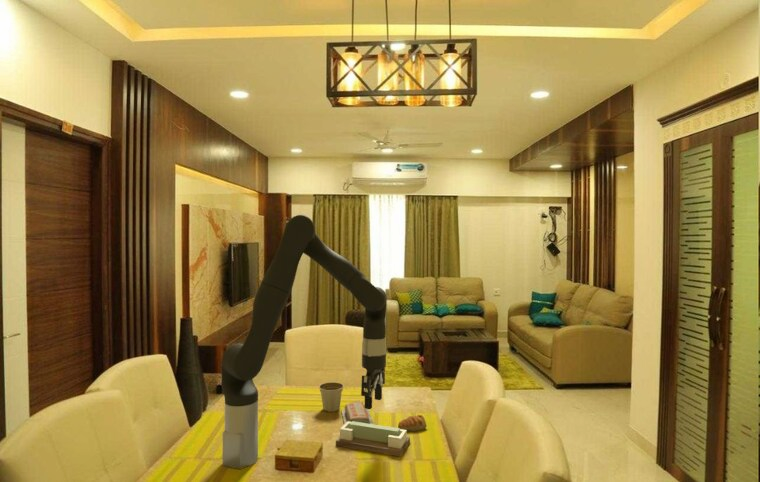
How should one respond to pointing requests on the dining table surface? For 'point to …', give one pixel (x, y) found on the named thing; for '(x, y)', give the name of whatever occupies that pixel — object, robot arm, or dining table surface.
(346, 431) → the cap far
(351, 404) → the packaged product
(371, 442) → the board
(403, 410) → the dining table surface
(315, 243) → the robot arm
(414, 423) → the pastry
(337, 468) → the dining table surface
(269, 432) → the dining table surface
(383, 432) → the slat
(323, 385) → the flower pot
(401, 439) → the cap near
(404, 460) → the dining table surface
